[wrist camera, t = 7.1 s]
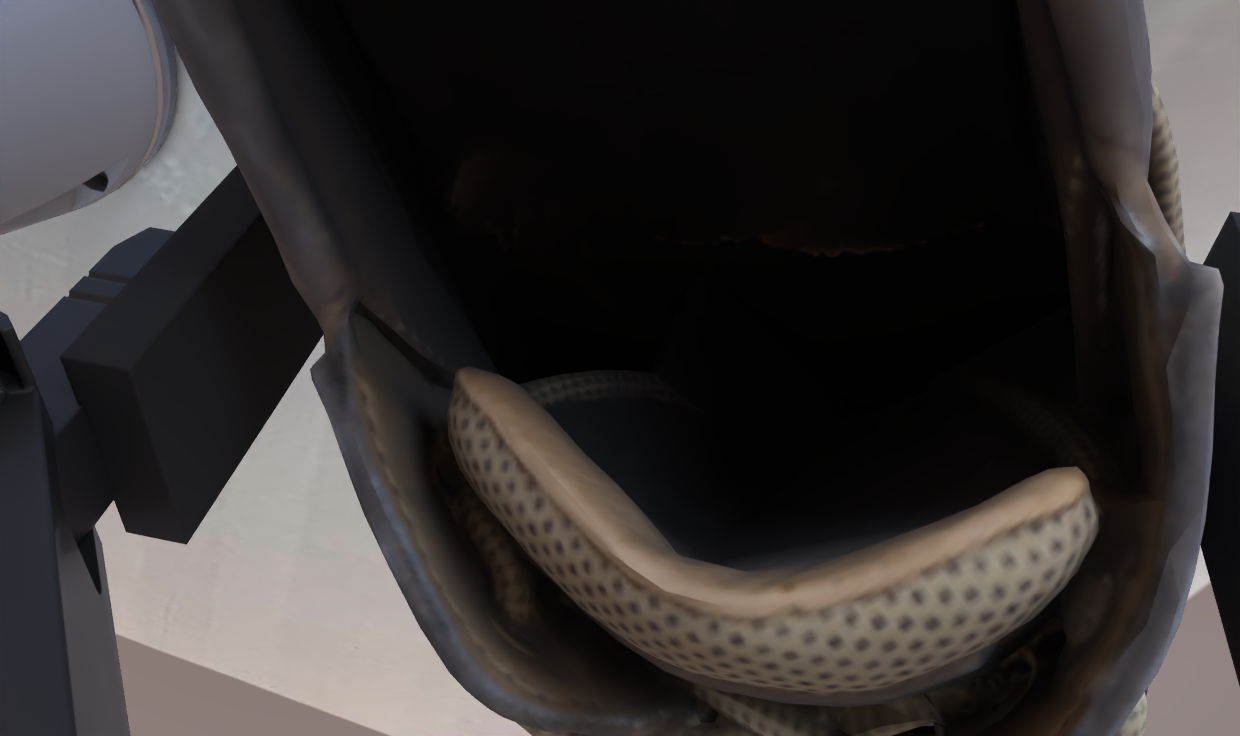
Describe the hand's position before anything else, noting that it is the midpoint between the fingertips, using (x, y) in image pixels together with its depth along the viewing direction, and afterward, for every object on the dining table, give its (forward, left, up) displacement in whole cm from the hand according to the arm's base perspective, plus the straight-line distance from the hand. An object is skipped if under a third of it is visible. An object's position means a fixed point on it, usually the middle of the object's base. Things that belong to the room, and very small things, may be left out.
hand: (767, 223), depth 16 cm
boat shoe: (0, 0, -2) cm, 2 cm away
